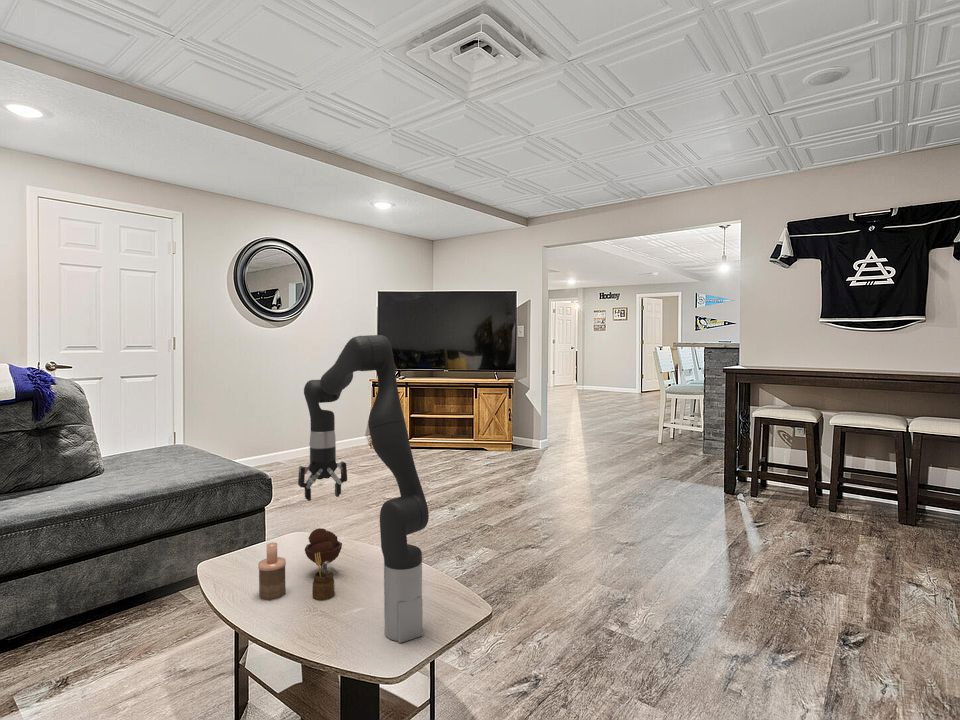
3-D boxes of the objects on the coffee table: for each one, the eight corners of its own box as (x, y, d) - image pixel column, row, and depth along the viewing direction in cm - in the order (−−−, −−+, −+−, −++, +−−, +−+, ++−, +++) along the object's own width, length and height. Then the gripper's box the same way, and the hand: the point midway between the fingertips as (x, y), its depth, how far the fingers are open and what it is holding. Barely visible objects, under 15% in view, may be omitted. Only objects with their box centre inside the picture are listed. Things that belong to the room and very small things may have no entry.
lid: (288, 567, 149) (288, 545, 148) (260, 573, 145) (260, 551, 145) (282, 558, 155) (282, 538, 155) (256, 563, 151) (255, 542, 151)
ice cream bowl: (332, 585, 157) (332, 535, 157) (298, 582, 159) (297, 532, 159) (348, 571, 168) (348, 523, 167) (315, 568, 170) (315, 521, 169)
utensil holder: (319, 605, 145) (319, 561, 145) (307, 598, 149) (307, 555, 149) (338, 598, 149) (338, 555, 149) (326, 591, 154) (326, 549, 153)
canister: (287, 599, 149) (286, 567, 149) (262, 605, 146) (261, 572, 145) (282, 590, 154) (281, 559, 154) (258, 595, 151) (257, 564, 151)
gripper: (301, 449, 156) (302, 505, 156) (349, 444, 163) (350, 497, 163) (295, 445, 162) (296, 498, 162) (342, 441, 169) (342, 492, 170)
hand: (323, 498), depth 163 cm, fingers open, 8 cm apart
